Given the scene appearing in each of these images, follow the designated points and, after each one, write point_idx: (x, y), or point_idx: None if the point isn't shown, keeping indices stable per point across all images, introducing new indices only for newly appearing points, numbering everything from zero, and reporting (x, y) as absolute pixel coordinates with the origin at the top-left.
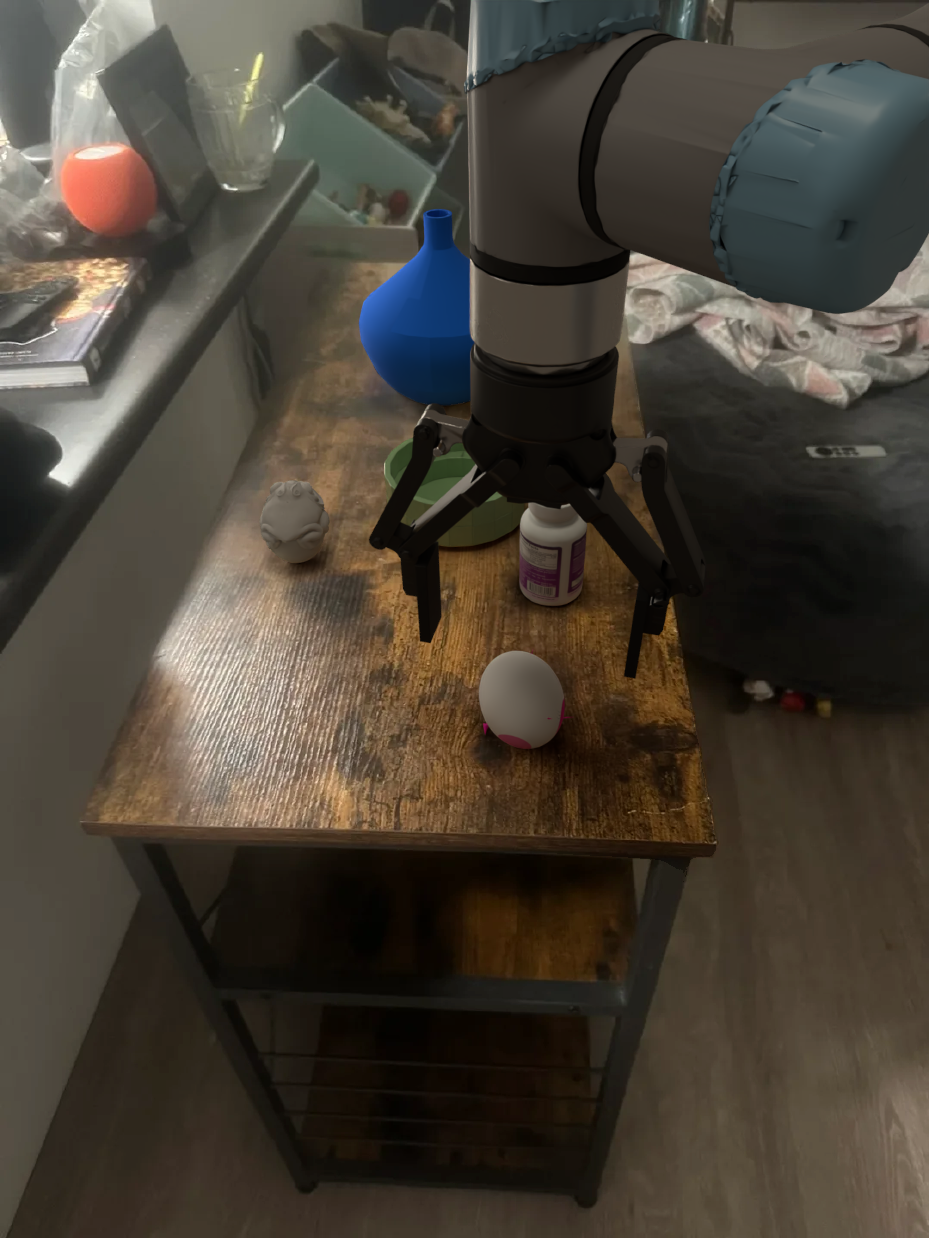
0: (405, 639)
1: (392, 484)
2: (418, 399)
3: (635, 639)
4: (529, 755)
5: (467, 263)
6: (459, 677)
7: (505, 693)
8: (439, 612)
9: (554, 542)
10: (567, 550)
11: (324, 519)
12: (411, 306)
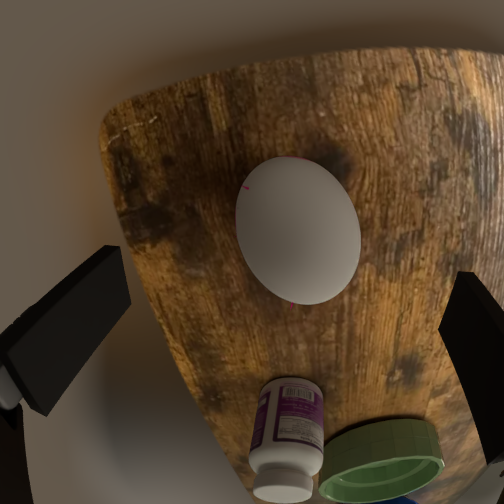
0: (438, 317)
1: (440, 461)
2: (398, 500)
3: (61, 289)
4: None
5: None
6: (381, 276)
7: (318, 211)
8: (447, 333)
9: (280, 446)
10: (266, 437)
11: None
12: None
